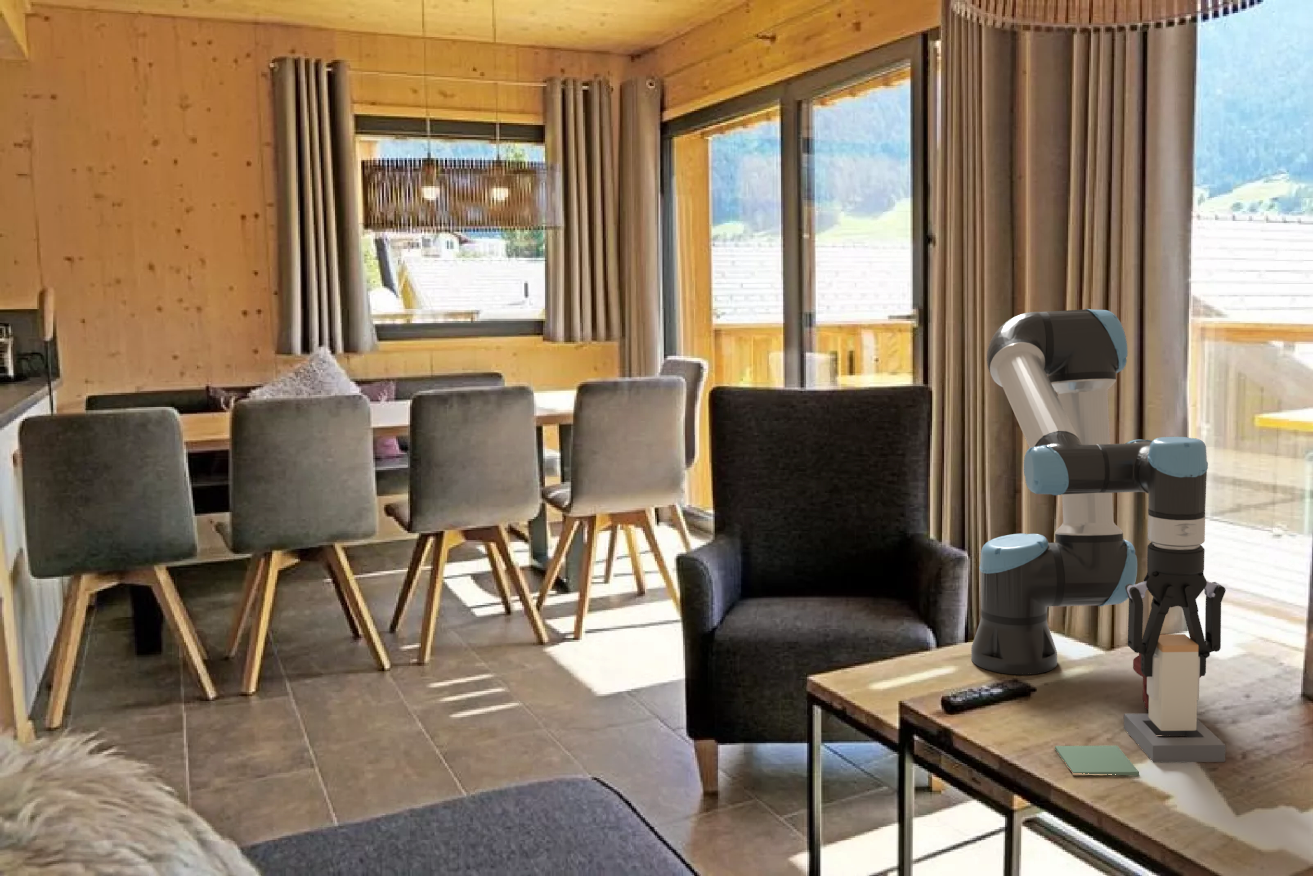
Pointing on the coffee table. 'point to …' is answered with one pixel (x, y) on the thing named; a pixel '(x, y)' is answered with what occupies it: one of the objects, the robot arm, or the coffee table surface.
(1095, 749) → the mat
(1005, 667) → the robot arm
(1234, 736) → the coffee table surface
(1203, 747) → the grey square frame
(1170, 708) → the plug
